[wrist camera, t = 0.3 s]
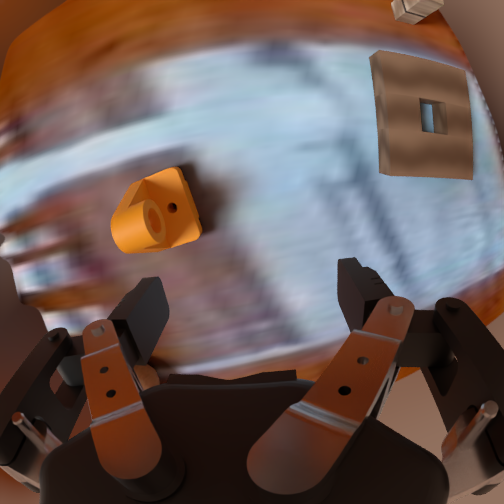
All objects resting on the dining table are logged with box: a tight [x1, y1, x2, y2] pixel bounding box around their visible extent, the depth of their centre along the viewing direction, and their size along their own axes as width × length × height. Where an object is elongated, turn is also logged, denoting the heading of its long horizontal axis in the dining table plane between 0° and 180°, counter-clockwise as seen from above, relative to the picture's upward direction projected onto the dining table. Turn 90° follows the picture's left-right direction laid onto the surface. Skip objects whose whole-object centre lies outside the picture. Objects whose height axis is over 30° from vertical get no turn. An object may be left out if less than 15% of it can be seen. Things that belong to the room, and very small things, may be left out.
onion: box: [134, 364, 160, 390], centre depth 49 cm, size 10×9×10 cm
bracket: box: [111, 167, 202, 254], centre depth 35 cm, size 11×7×12 cm, turn 17°
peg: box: [391, 0, 444, 24], centre depth 22 cm, size 4×4×10 cm
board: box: [369, 50, 473, 180], centre depth 31 cm, size 18×16×4 cm
